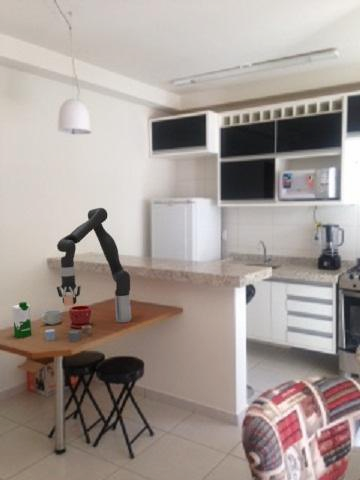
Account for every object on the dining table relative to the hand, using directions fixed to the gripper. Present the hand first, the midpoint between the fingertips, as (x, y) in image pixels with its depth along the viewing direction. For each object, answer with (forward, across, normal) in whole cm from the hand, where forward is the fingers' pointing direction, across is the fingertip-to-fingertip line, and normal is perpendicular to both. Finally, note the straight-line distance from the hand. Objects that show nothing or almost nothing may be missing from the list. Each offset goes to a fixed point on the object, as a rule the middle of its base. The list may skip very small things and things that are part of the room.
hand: (69, 303), depth 245 cm
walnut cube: (+19, -8, -2) cm, 21 cm away
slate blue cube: (+19, +11, +4) cm, 23 cm away
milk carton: (+19, +30, -3) cm, 36 cm away
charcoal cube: (+19, -4, +7) cm, 21 cm away
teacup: (+20, +21, -26) cm, 39 cm away
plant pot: (+20, 0, -20) cm, 28 cm away
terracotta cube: (0, 0, 0) cm, 0 cm away
